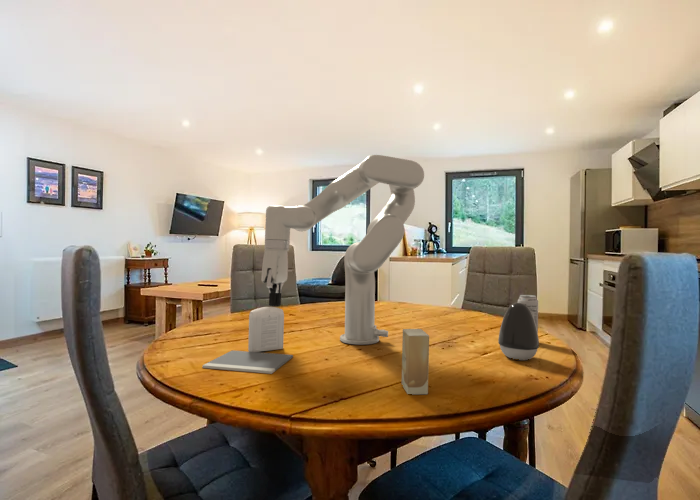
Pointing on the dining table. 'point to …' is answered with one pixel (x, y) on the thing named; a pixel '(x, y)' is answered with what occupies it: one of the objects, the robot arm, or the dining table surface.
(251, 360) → the mat
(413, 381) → the skincare box
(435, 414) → the dining table surface
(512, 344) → the grey egg shaped device
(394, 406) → the dining table surface
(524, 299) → the energy drink can
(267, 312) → the photo printer
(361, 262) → the robot arm
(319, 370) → the dining table surface
